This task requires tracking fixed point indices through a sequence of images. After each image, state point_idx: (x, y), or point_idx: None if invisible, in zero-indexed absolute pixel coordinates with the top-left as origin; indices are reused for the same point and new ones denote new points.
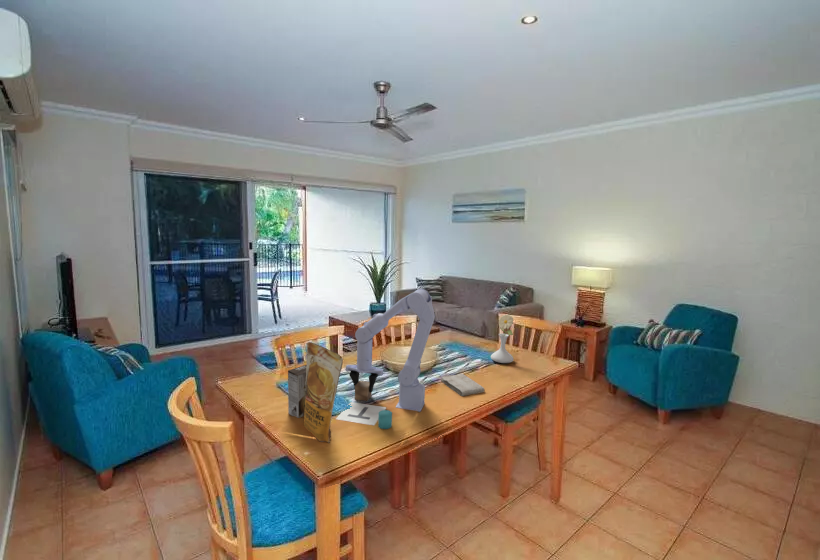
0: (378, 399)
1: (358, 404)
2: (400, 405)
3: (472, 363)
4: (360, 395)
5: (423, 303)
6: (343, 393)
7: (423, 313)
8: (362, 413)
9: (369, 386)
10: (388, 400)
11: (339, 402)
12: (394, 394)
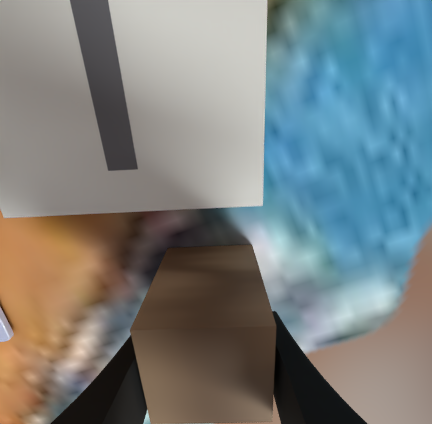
0: (127, 301)
1: (196, 189)
2: None
3: None
4: (211, 269)
5: None
6: (352, 301)
7: None
8: (90, 50)
9: (132, 359)
10: (71, 308)
11: (342, 185)
12: (84, 369)
